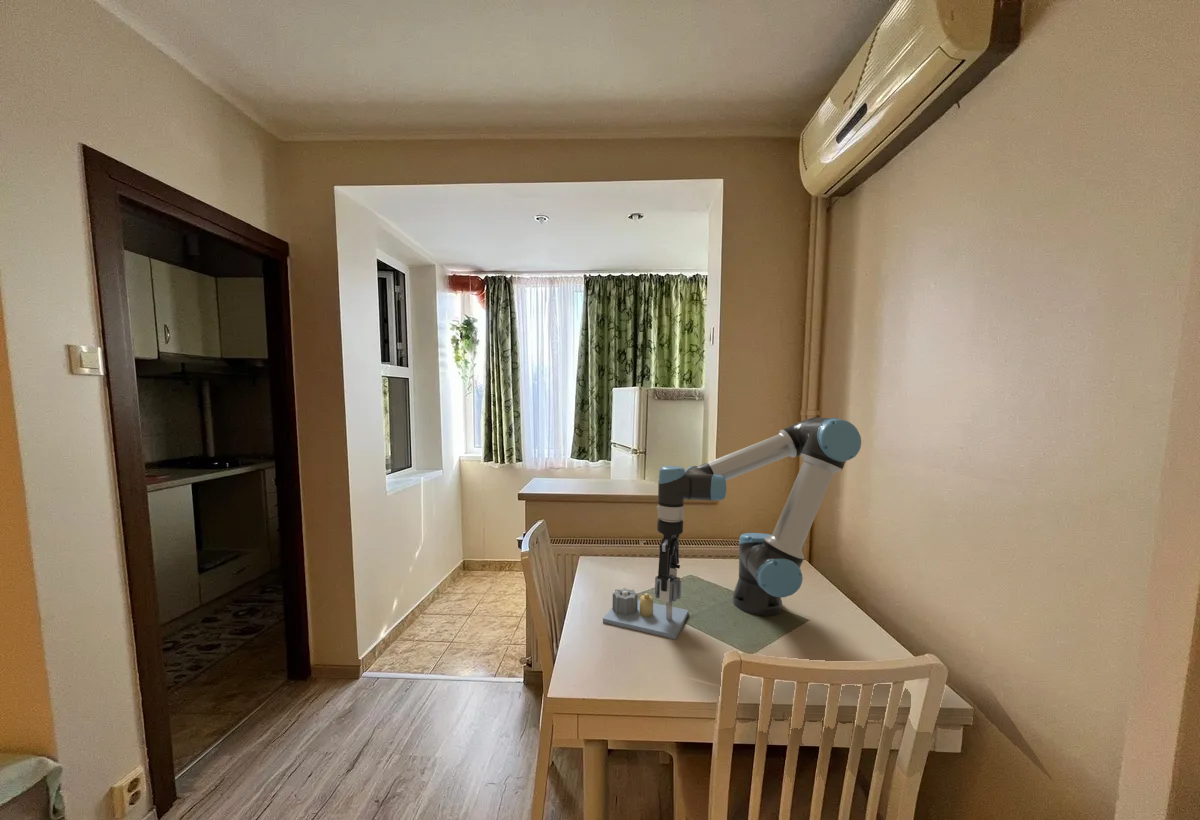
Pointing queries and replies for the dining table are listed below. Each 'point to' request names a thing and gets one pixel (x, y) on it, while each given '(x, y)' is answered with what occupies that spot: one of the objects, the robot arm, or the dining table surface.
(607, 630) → the dining table surface
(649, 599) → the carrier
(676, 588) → the gear
